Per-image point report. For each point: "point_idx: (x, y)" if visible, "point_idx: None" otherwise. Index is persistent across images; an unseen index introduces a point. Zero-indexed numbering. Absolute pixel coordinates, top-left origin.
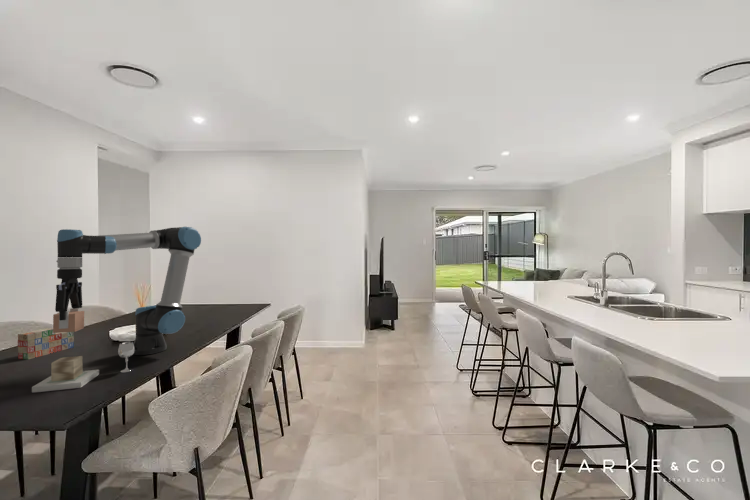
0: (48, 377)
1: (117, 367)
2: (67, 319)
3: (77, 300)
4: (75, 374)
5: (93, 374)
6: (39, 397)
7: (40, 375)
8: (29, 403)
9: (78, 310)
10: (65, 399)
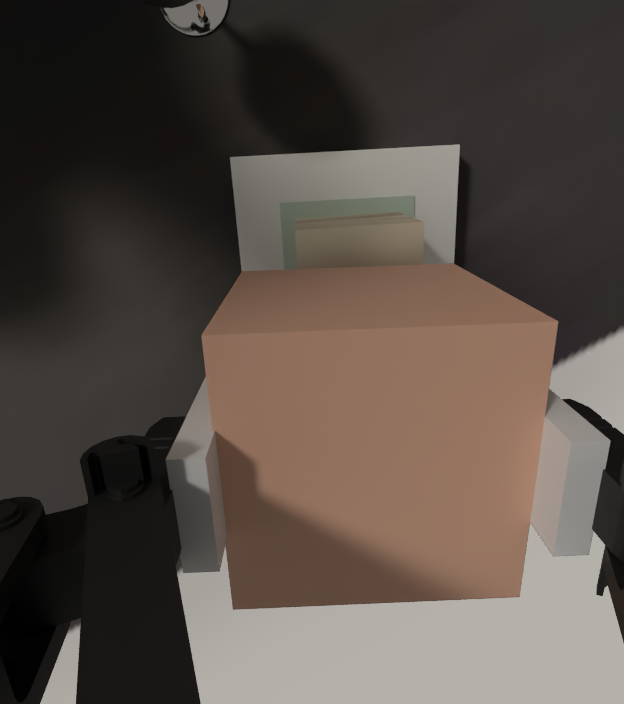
0: None
1: (108, 100)
2: None
3: (177, 609)
4: (382, 214)
5: (305, 153)
6: (523, 279)
7: None
8: (588, 279)
9: (198, 436)
10: (607, 136)
